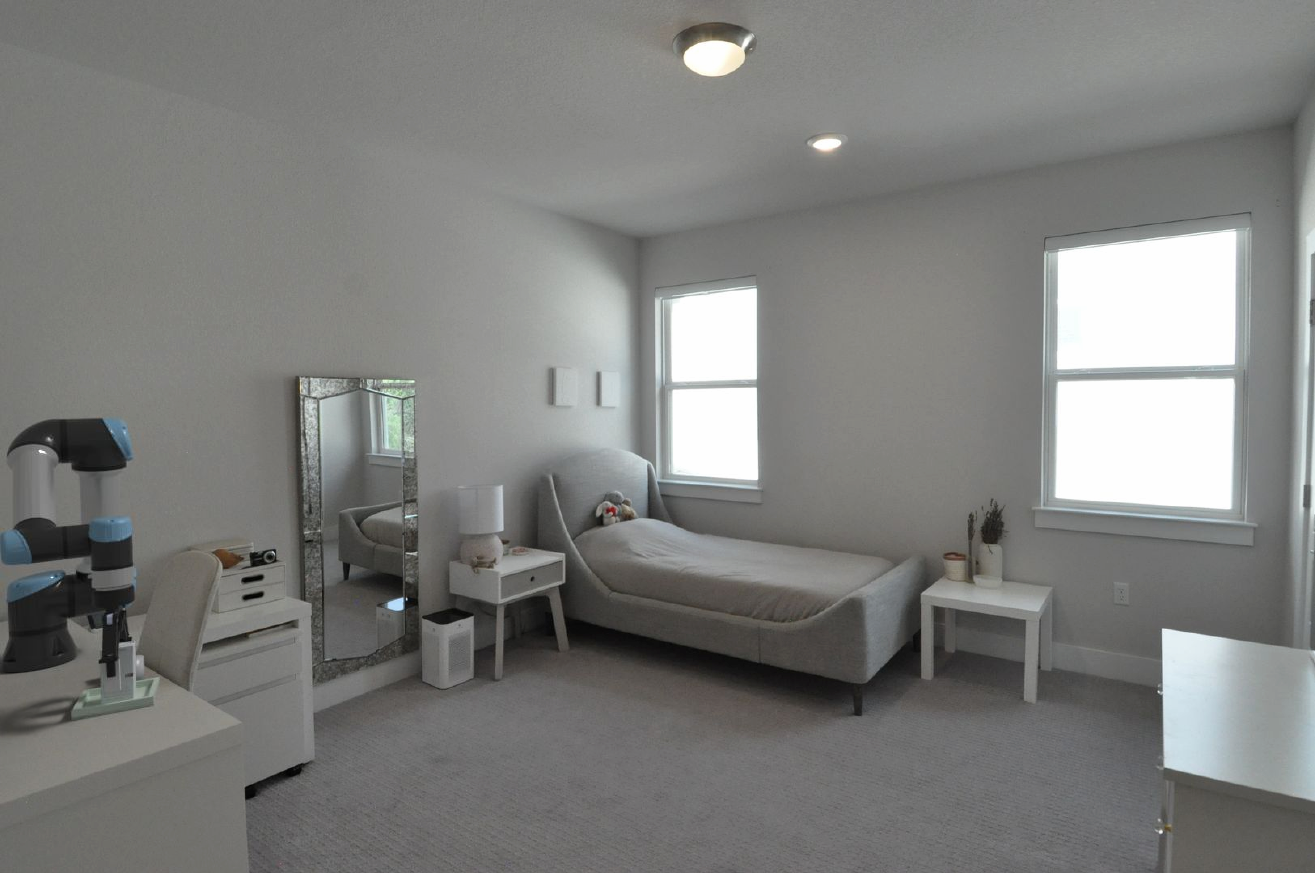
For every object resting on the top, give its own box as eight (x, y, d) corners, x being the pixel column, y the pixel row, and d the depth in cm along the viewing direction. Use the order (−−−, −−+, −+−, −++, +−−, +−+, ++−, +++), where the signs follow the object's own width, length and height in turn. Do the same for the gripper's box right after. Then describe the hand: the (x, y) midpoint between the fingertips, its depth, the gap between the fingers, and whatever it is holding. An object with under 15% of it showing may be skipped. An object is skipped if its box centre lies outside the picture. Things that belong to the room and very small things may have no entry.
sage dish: (84, 698, 159) (84, 689, 159) (159, 685, 166) (159, 676, 166) (71, 720, 147) (71, 711, 147) (153, 705, 154) (153, 696, 154)
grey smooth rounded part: (120, 681, 169) (119, 657, 169) (145, 677, 171) (144, 653, 171) (117, 688, 164) (116, 663, 164) (143, 683, 167) (142, 659, 167)
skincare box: (100, 705, 153) (98, 650, 153) (103, 698, 157) (101, 644, 157) (135, 698, 156) (133, 645, 156) (137, 692, 160) (135, 639, 160)
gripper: (101, 578, 164) (105, 667, 165) (80, 601, 143) (85, 703, 144) (141, 574, 168) (144, 661, 169) (126, 595, 147) (130, 695, 147)
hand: (117, 681), depth 156 cm, fingers open, 13 cm apart
